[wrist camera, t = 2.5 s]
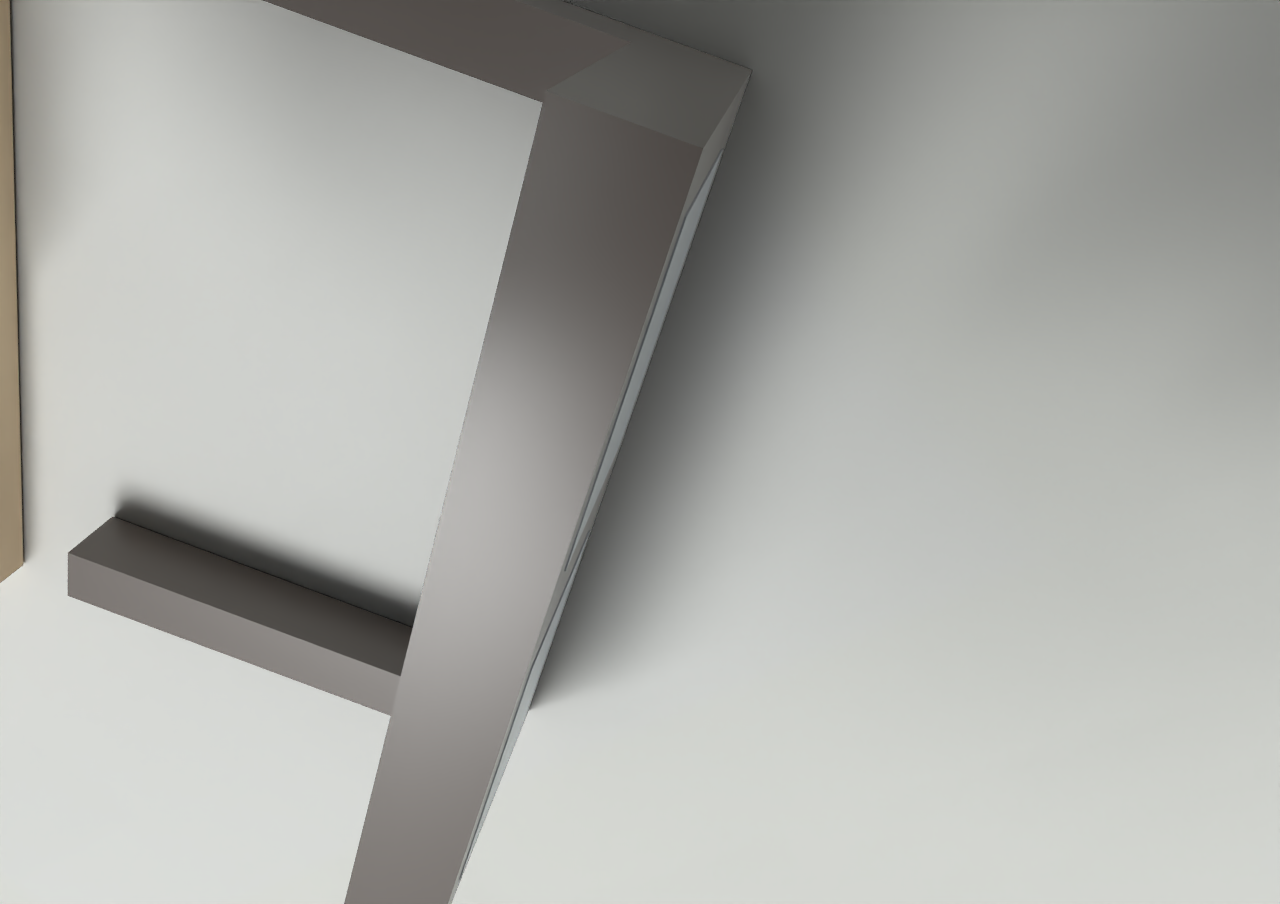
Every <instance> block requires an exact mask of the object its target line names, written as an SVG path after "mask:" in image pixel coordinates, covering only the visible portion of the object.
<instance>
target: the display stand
mask: <svg viewBox="0 0 1280 904" xmlns="http://www.w3.org/2000/svg"><path fill="white" fill-rule="evenodd" d="M21 566H23V532H22V490H21V449H20V408H19V366H18V325H17V283H16V242H15V201H14V159H13V118H12V76H11V35H10V0H0V583H1V582H2V581H3V580H5V579H6V578H7V577H9V576H10V575H11V574H12V573H14V572H15V571H16V570H17V569H19V568H20V567H21Z"/></svg>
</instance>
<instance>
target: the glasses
mask: <svg viewBox="0 0 1280 904" xmlns="http://www.w3.org/2000/svg"><path fill="white" fill-rule="evenodd" d="M263 1H266V2H269V3H272V4H274V5H277V6H280V7H283V8H285V9H288V10H291V11H294V12H296V13H299V14H302V15H305V16H307V17H310V18H313V19H315V20H318V21H321V22H324V23H326V24H329V25H332V26H335V27H337V28H340V29H343V30H346V31H348V32H351V33H354V34H357V35H359V36H362V37H365V38H367V39H370V40H373V41H376V42H378V43H381V44H384V45H387V46H389V47H392V48H395V49H398V50H400V51H403V52H406V53H408V54H411V55H414V56H417V57H419V58H422V59H425V60H428V61H430V62H433V63H436V64H439V65H441V66H444V67H447V68H450V69H452V70H455V71H458V72H460V73H463V74H466V75H469V76H471V77H474V78H477V79H480V80H482V81H485V82H488V83H491V84H493V85H496V86H499V87H502V88H504V89H507V90H510V91H512V92H515V93H518V94H521V95H523V96H526V97H529V98H532V99H534V100H537V101H540V102H543V104H542V108H541V113H540V117H539V121H538V125H537V129H536V133H535V137H534V141H533V145H532V149H531V153H530V157H529V161H528V165H527V169H526V173H525V177H524V181H523V185H522V189H521V193H520V197H519V201H518V205H517V209H516V213H515V217H514V221H513V225H512V229H511V233H510V237H509V242H508V246H507V250H506V254H505V258H504V262H503V266H502V270H501V274H500V278H499V282H498V286H497V290H496V294H495V298H494V302H493V306H492V310H491V314H490V318H489V322H488V326H487V330H486V334H485V338H484V342H483V346H482V350H481V354H480V358H479V362H478V367H477V371H476V375H475V379H474V383H473V387H472V391H471V395H470V399H469V403H468V407H467V411H466V415H465V419H464V423H463V427H462V431H461V435H460V439H459V443H458V447H457V451H456V455H455V459H454V463H453V467H452V471H451V475H450V479H449V483H448V487H447V491H446V496H445V500H444V504H443V508H442V512H441V516H440V520H439V524H438V528H437V532H436V536H435V540H434V544H433V548H432V552H431V556H430V560H429V564H428V568H427V572H426V576H425V580H424V584H423V588H422V592H421V596H420V600H419V604H418V608H417V612H416V616H415V621H414V625H413V628H411V627H409V626H406V625H403V624H401V623H398V622H395V621H393V620H390V619H387V618H385V617H382V616H379V615H376V614H374V613H371V612H368V611H366V610H363V609H360V608H358V607H355V606H352V605H349V604H347V603H344V602H341V601H339V600H336V599H333V598H331V597H328V596H325V595H323V594H320V593H317V592H314V591H312V590H309V589H306V588H304V587H301V586H298V585H296V584H293V583H290V582H288V581H285V580H282V579H279V578H277V577H274V576H271V575H269V574H266V573H263V572H261V571H258V570H255V569H252V568H250V567H247V566H244V565H242V564H239V563H236V562H234V561H231V560H228V559H226V558H223V557H220V556H217V555H215V554H212V553H209V552H207V551H204V550H201V549H199V548H196V547H193V546H191V545H188V544H185V543H182V542H180V541H177V540H174V539H172V538H169V537H166V536H164V535H161V534H158V533H155V532H153V531H150V530H147V529H145V528H142V527H139V526H137V525H134V524H131V523H129V522H126V521H123V520H120V519H118V518H115V517H111V518H110V519H109V520H108V521H107V522H105V523H104V524H103V525H102V526H100V527H99V528H98V529H97V530H95V531H94V532H93V533H92V534H91V535H89V536H88V537H87V538H86V539H84V540H83V541H82V542H81V543H80V544H78V545H77V546H76V547H75V548H73V549H72V550H71V551H70V552H68V596H70V597H73V598H76V599H78V600H81V601H84V602H86V603H89V604H92V605H94V606H97V607H100V608H103V609H105V610H108V611H111V612H113V613H116V614H119V615H121V616H124V617H127V618H129V619H132V620H135V621H137V622H140V623H143V624H146V625H148V626H151V627H154V628H156V629H159V630H162V631H164V632H167V633H170V634H172V635H175V636H178V637H180V638H183V639H186V640H189V641H191V642H194V643H197V644H199V645H202V646H205V647H207V648H210V649H213V650H215V651H218V652H221V653H223V654H226V655H229V656H232V657H234V658H237V659H240V660H242V661H245V662H248V663H250V664H253V665H256V666H258V667H261V668H264V669H266V670H269V671H272V672H275V673H277V674H280V675H283V676H285V677H288V678H291V679H293V680H296V681H299V682H301V683H304V684H307V685H309V686H312V687H315V688H318V689H320V690H323V691H326V692H328V693H331V694H334V695H336V696H339V697H342V698H344V699H347V700H350V701H352V702H355V703H358V704H361V705H363V706H366V707H369V708H371V709H374V710H377V711H379V712H382V713H385V714H387V715H390V716H391V717H390V721H389V725H388V729H387V733H386V737H385V741H384V745H383V750H382V754H381V758H380V762H379V766H378V770H377V774H376V778H375V782H374V786H373V790H372V794H371V798H370V802H369V806H368V810H367V814H366V818H365V822H364V826H363V830H362V834H361V838H360V842H359V846H358V850H357V854H356V858H355V862H354V866H353V870H352V875H351V879H350V883H349V887H348V891H347V895H346V899H345V903H344V904H451V903H452V900H453V898H454V895H455V893H456V890H457V888H458V885H459V883H460V880H461V878H462V875H463V873H464V870H465V868H466V865H467V863H468V860H469V858H470V855H471V853H472V850H473V848H474V845H475V843H476V840H477V838H478V835H479V833H480V830H481V828H482V826H483V823H484V821H485V818H486V816H487V813H488V811H489V808H490V806H491V803H492V801H493V798H494V796H495V793H496V791H497V788H498V786H499V783H500V781H501V778H502V776H503V773H504V771H505V768H506V766H507V763H508V761H509V758H510V756H511V753H512V751H513V748H514V746H515V743H516V741H517V738H518V736H519V733H520V731H521V728H522V726H523V723H524V721H525V718H526V716H527V713H528V711H529V708H530V705H531V702H532V699H533V696H534V693H535V690H536V688H537V685H538V682H539V679H540V676H541V673H542V670H543V668H544V665H545V662H546V659H547V656H548V653H549V650H550V648H551V645H552V642H553V639H554V636H555V633H556V630H557V628H558V625H559V622H560V619H561V616H562V613H563V610H564V607H565V605H566V602H567V599H568V596H569V593H570V590H571V587H572V585H573V582H574V579H575V576H576V573H577V570H578V567H579V565H580V562H581V559H582V556H583V553H584V550H585V547H586V545H587V542H588V539H589V536H590V533H591V530H592V527H593V524H594V522H595V519H596V516H597V513H598V510H599V507H600V504H601V502H602V499H603V496H604V493H605V490H606V487H607V484H608V482H609V479H610V476H611V473H612V470H613V467H614V464H615V462H616V459H617V456H618V453H619V450H620V447H621V444H622V441H623V439H624V436H625V433H626V430H627V427H628V424H629V421H630V419H631V416H632V413H633V410H634V407H635V404H636V401H637V399H638V396H639V393H640V390H641V387H642V384H643V381H644V379H645V376H646V373H647V370H648V367H649V364H650V361H651V358H652V356H653V353H654V350H655V347H656V344H657V341H658V338H659V336H660V333H661V330H662V327H663V324H664V321H665V318H666V316H667V313H668V310H669V307H670V304H671V301H672V298H673V296H674V293H675V290H676V287H677V284H678V281H679V278H680V275H681V273H682V270H683V267H684V264H685V261H686V258H687V255H688V253H689V250H690V247H691V244H692V241H693V238H694V235H695V233H696V230H697V227H698V224H699V221H700V218H701V215H702V213H703V210H704V207H705V204H706V201H707V198H708V195H709V192H710V190H711V187H712V184H713V181H714V178H715V175H716V172H717V170H718V167H719V164H720V161H721V158H722V155H723V152H724V150H725V147H726V144H727V141H728V138H729V135H730V132H731V130H732V127H733V124H734V121H735V118H736V115H737V112H738V109H739V107H740V104H741V101H742V98H743V95H744V92H745V89H746V87H747V84H748V81H749V78H750V75H751V72H752V70H751V69H748V68H745V67H743V66H740V65H737V64H734V63H732V62H729V61H726V60H723V59H721V58H718V57H715V56H712V55H710V54H707V53H704V52H702V51H699V50H696V49H693V48H691V47H688V46H685V45H682V44H680V43H677V42H674V41H671V40H669V39H666V38H663V37H660V36H658V35H655V34H652V33H649V32H647V31H644V30H641V29H638V28H636V27H633V26H630V25H627V24H625V23H622V22H619V21H616V20H614V19H611V18H608V17H605V16H603V15H600V14H597V13H594V12H592V11H589V10H586V9H584V8H581V7H578V6H575V5H573V4H570V3H567V2H564V1H562V0H263Z"/></svg>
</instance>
